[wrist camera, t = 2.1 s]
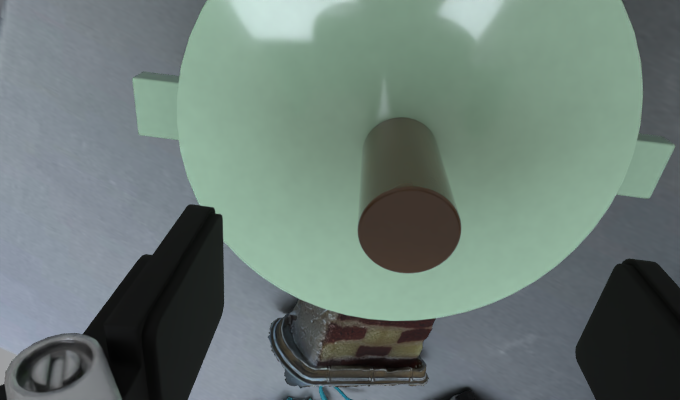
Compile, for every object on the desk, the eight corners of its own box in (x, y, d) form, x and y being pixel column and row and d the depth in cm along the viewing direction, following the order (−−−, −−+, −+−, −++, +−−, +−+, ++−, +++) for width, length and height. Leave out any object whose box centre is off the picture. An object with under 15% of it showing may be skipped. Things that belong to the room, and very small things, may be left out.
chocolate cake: (479, 296, 32) (388, 317, 23) (436, 381, 34) (333, 433, 24) (376, 232, 38) (269, 227, 28) (343, 307, 39) (229, 326, 30)
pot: (192, -110, 21) (96, -135, 14) (647, -54, 21) (791, -50, 14) (204, 188, 29) (146, 273, 22) (539, 230, 29) (596, 330, 22)
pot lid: (171, -148, 14) (34, -206, 9) (719, -81, 14) (953, -94, 8) (195, 281, 23) (134, 399, 17) (543, 325, 22) (600, 458, 17)
